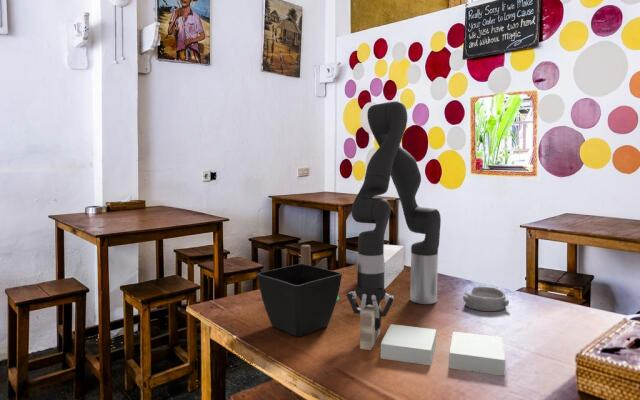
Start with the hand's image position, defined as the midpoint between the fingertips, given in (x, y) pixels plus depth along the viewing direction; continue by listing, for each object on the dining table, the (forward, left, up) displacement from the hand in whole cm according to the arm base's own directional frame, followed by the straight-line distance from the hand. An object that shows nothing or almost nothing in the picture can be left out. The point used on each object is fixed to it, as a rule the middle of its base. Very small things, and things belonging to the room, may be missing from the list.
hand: (370, 328), depth 133 cm
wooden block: (-35, -30, -4) cm, 46 cm away
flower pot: (-4, -23, -4) cm, 24 cm away
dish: (-41, +31, -4) cm, 52 cm away
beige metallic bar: (0, 0, -4) cm, 4 cm away
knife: (-25, -20, -4) cm, 32 cm away
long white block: (-65, -10, -4) cm, 66 cm away
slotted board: (+3, +20, -4) cm, 21 cm away
